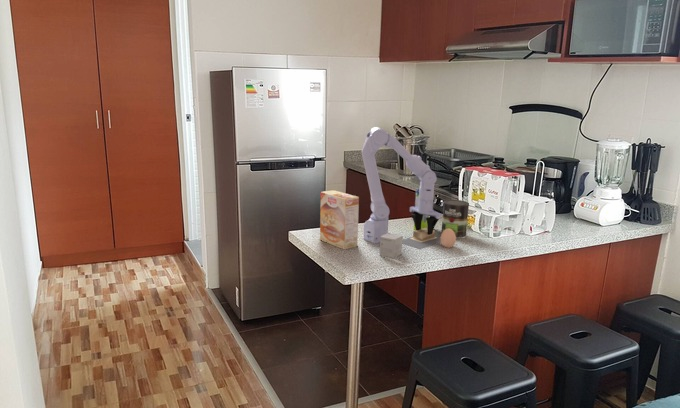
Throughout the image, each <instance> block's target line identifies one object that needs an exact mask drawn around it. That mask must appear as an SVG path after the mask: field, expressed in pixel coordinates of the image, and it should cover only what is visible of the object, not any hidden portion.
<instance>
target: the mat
mask: <svg viewBox="0 0 680 408" xmlns="http://www.w3.org/2000/svg"><path fill="white" fill-rule="evenodd" d="M440 238H441V237H439V236H436V235H435V238H431V239H428V240H424V241H419V240H416V239H413V236H411V237H408V238H404V239H402V245H405V246H409V247H411V248H414V249H417V250H422V249H425V248H428V247H433V246H436V245H438V244H441V240H440Z"/></svg>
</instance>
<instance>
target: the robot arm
mask: <svg viewBox="0 0 680 408" xmlns="http://www.w3.org/2000/svg"><path fill="white" fill-rule="evenodd" d="M362 145H363V146H362V147H361V157H362V161H363V166H364V170H365V174H366V178H367V180H366V181H367V183H368V188H369V193H370V201H371V202H370V211H371V212H372V213H371V214H370V217H369V219H368V220H365V222H364V224H363V237H362V238H361V239H362V240H365V241H368V242H371V243H374V244H379V243H380V238H381V236H383V235H385V234H387V233H389V215H390V208H389V206H388V205H387V203H386V199H385V197H384V193H383V190H382V184H381V180H380V175H379V170H378V166H377V161H376V156H375V155H376V154H377V152H378V151H379V149H380V148H382V147H383V146H385V147H387V148H392V149H393V151H395V152H396V153H397V154H398V155H399V156H400V157H401V158H402V159H403V160H404V162H405V166H406V167H407V169H408V170H409V171H411V173H412V174H413V175H415V176H416V177H418V181H419V204H418V207H415V205H414V206H410V207H409V212H410V213H411V214H410V216H411V218H412V220H413V225H414V224H415V228H416V230H420V229H421V222H422V218H423V215H427V216H429V217H428V218H426V220H427V226H428V227H427V234H428V235H431V234H432V233H433V230H435V227H436V225H437V223H438V222H439V220H440V219H442V216H443V213H442V212H441V213H440V212H438V211H436V210H434V198H435V197H434V196H435V183H436V182H437V179H438V177H437V174H436V173H435V171H433V170H432V169H431V167H430V165H428V164H426V163H425V162H424V161H423V160H422V159H423V158H422V157H421V156H420V155H417V154H412V153H410V152H409V150H407V149H406V148H405V147H404V145H402V144H401V142H400V141H399V140H398V139H397V138H396V137H394V136H393V135H391V134H390V133H388V132H387V131H386V130H385V129H384V128H382V127H379V126H374V127H372V128H371V129H370V130H369V132H367V133H366V135H365V140H364V142H363V144H362ZM416 230H415V231H416Z"/></svg>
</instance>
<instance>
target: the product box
mask: <svg viewBox="0 0 680 408" xmlns="http://www.w3.org/2000/svg"><path fill="white" fill-rule="evenodd" d="M403 237H404V236H403V235H399V234H395V233H391V232H388V233H387V234H385V235H383V236H381V238H380V242H379V243H380V244H379V256H380V257H384V258H390V259H393V260H394V258H396V257H398V256H400V255H402V251H403V244H402V240H403Z"/></svg>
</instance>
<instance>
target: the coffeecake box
mask: <svg viewBox="0 0 680 408" xmlns="http://www.w3.org/2000/svg"><path fill="white" fill-rule="evenodd" d="M359 201H360V197H359V196H356V195H354V194H353V195H352V194H349V193H345V192H342V191H338V190H334V189H333V190H332V189H331V190H324V191H321V192H320V209H319V210H320V214H319V215H320V219H319V222H320V223H319V228H320V230H319V241H321V240H322V241H321V242H324V243H326V242H327V243H326V244H328V245H331V246H334V247H337V248H339V249H341V250H349V249H351V248H352V249H353V248H357V247H358V241H359V240H358V234H359V210H360V209H359V208H360V207H359V206H360V204H359V203H360V202H359Z"/></svg>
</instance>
